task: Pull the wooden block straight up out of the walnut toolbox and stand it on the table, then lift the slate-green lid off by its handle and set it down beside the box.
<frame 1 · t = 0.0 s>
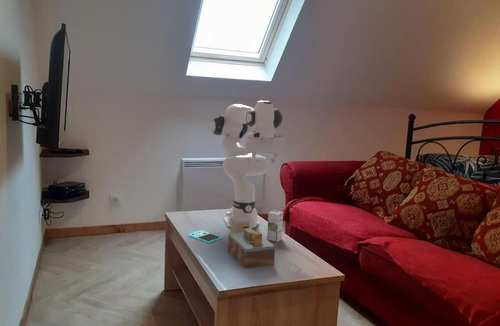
hand: (264, 162, 199), 39 cm above the table, tool pointing down, fingers open, 8 cm apart
handheld game console: (204, 238, 205), on the table
toolbox lid: (251, 242, 177), point 8 cm above the table, touching toolbox
coffee cup: (239, 242, 200), on the table
syrup box: (274, 240, 205), on the table
wooden block: (256, 262, 173), point 1 cm above the table, touching toolbox
toolbox: (250, 259, 178), on the table
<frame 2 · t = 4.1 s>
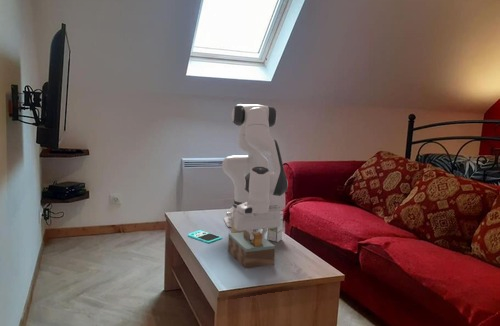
hand: (257, 238, 171), 12 cm above the table, tool pointing down, fingers closed on wooden block, 3 cm apart
wooden block: (256, 262, 173), point 1 cm above the table, touching gripper, toolbox
everything else where it was.
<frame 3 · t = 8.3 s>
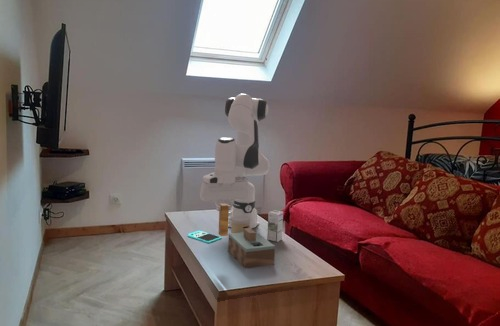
hand: (223, 210, 170), 23 cm above the table, tool pointing down, fingers closed on wooden block, 3 cm apart
wooden block: (223, 234, 171), point 13 cm above the table, touching gripper
everything else where it was.
when the fingers open (12 cm above the table, at t = 10.4 s): wooden block drops 2 cm, on the table.
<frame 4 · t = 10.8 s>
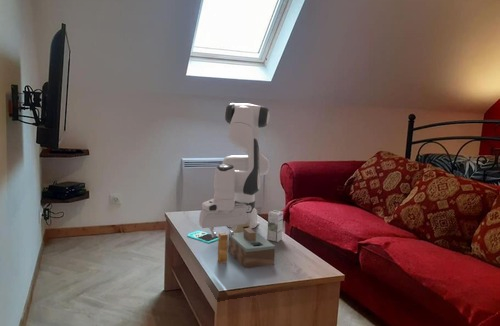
hand: (223, 235, 171), 12 cm above the table, tool pointing down, fingers open, 7 cm apart
wooden block: (222, 263, 173), on the table
everything else where it was.
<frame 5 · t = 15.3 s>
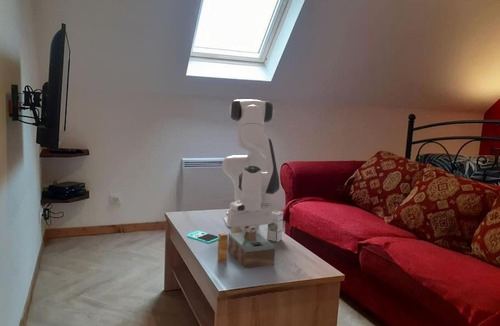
hand: (249, 235, 178), 11 cm above the table, tool pointing down, fingers closed on toolbox lid, 3 cm apart
toolbox lid: (251, 242, 177), point 8 cm above the table, touching gripper, toolbox
everything else where it was.
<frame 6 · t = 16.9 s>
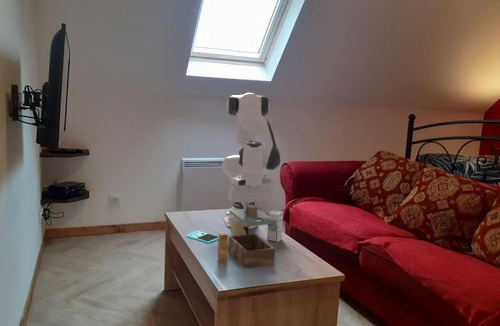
hand: (250, 210, 177), 21 cm above the table, tool pointing down, fingers closed on toolbox lid, 3 cm apart
toolbox lid: (252, 217, 176), point 19 cm above the table, touching gripper
everything else where it was.
when the fingers open (4 cm above the table, at t = 23.5 s): toolbox lid drops 1 cm, on the table.
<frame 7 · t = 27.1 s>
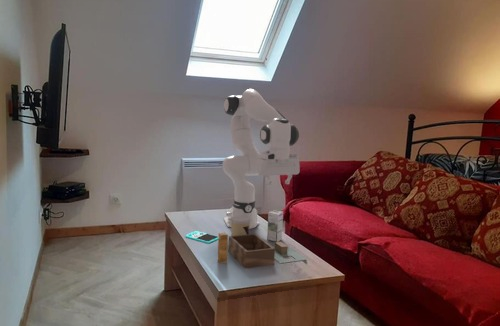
hand: (278, 184, 187), 31 cm above the table, tool pointing down, fingers open, 8 cm apart
toolbox lid: (282, 255, 185), on the table
at the end: wooden block moved 14.3 cm from its start; toolbox lid inside the target area (0.1 cm from its centre), on the table; toolbox lid touching table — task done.
